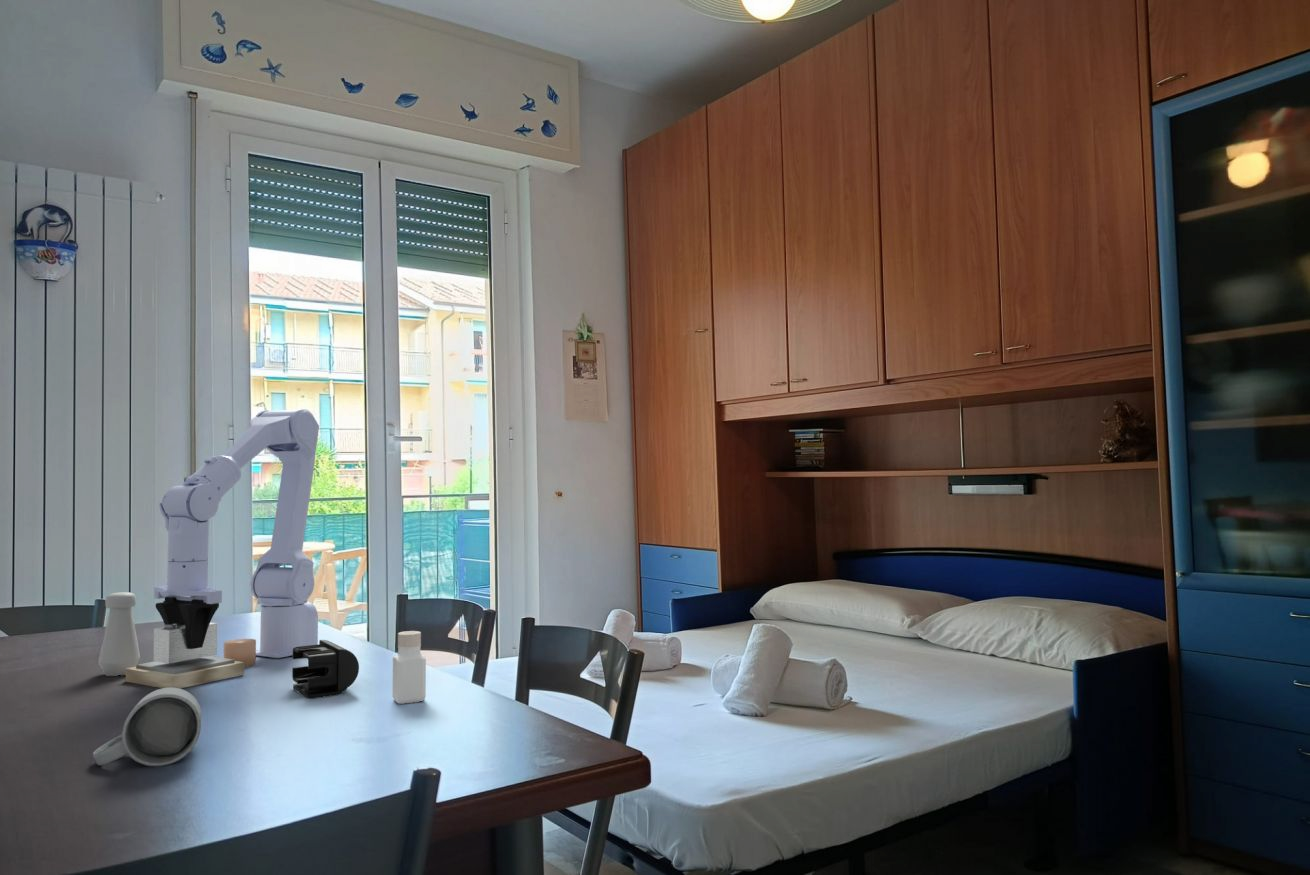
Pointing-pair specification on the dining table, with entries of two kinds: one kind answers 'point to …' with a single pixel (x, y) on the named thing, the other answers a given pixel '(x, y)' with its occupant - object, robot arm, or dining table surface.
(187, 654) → the alloy housing
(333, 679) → the end cap
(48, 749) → the dining table surface
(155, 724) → the ceramic mug
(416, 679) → the pepper shaker
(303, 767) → the dining table surface
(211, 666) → the birch plinth
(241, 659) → the peach rounded cylinder
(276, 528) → the robot arm
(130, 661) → the salt shaker
